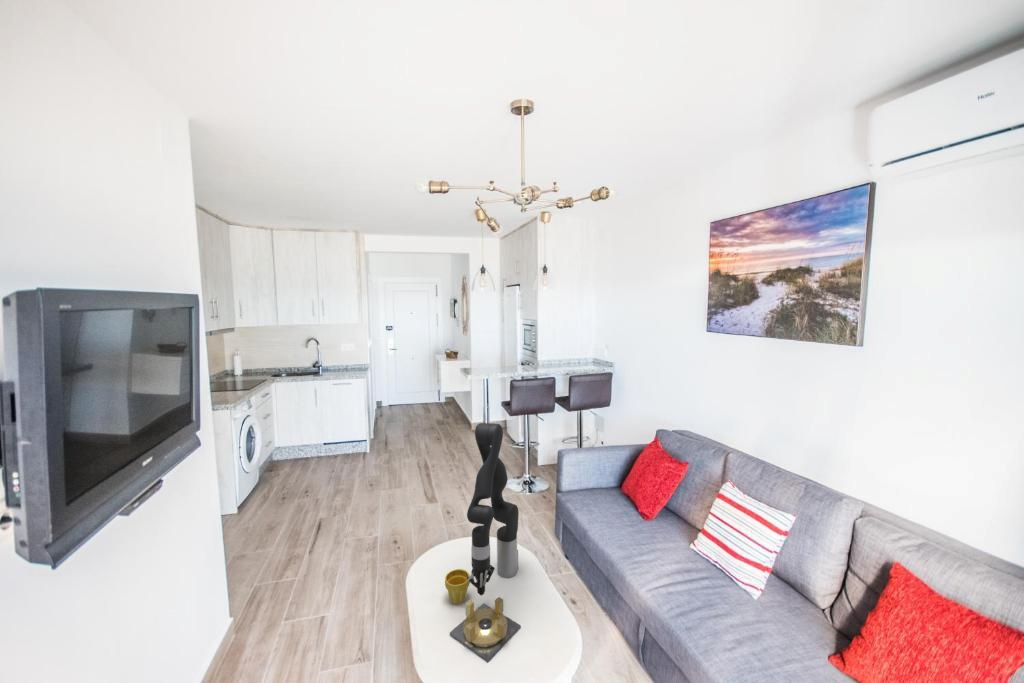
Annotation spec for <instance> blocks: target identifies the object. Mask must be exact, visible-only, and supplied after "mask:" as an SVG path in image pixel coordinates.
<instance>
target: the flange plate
mask: <svg viewBox="0 0 1024 683" xmlns="http://www.w3.org/2000/svg"><path fill="white" fill-rule="evenodd" d="M483 608H491V609H494V608H493V607H491V606H489V605H487V604H486V603H484V602H483V603H482V604H480V605H479V607H477V608H476V609H474V611H476V610H478V609H483ZM504 616H505V617H506V619H507V626H508V628H507V635H506V636H505V637H504V638H503V639H502V640H501V641H500V642H499V643H497V644H495V645H493V646H488V647H479V646H475V645H473V644H471V643H470V642H468V641H467V640H466V638H465V636H464V632H463V625H464V621H465V619H464V620H463V621H462V622H460V623H459V624H458V625H456V627H454V628H453V629H451V631H450V632H449V636H450V637H451V638H453V639H454V640H456V641H457V642H458V643H460V644H461V645H462V646H464V647H465V648H467V649H468V650H469V651H471V652H472V653H473V654H475V655H476V656H478V657H479V658H481V659H482V660H484V662H487V663H489V662H490V661H492V659H493V658H494V657H495V656H496V655H497V654H498V652H499V651H500V650H501V649H502V648H503V647H504V646H505V645H506V644H507V643H508V642H509V641H510V640H511V639H512V638H513V636H514V635H515V634H516V633H518V631H519V630H520V629H521V627H522V625H521V624H519V623H518V622H517V621H514V620H513V619H511V618H509V617H508V616H506V615H504Z"/></svg>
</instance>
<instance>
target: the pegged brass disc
mask: <svg viewBox="0 0 1024 683" xmlns="http://www.w3.org/2000/svg"><path fill="white" fill-rule="evenodd" d="M464 605H465V610H464V612H465V616H466V618H465V619H464V620H465V621H464V620H463V621H464V625H463V632H464V636H465V638H466V640H467V641H468V642H470V643H471V644H473V645H475V646H479V647H488V646H493V645H495V644H497V643H499V642H500V641H501V640H502V639H503V638H504V637H505V636H506V635H507V628H508V626H507V619H506V617H507V616H506V615H504V614H503V613H504V598H501V597H500V596H498V597H497V598H496V599H495V600H494V608H493V609H491V608H492V607H491V608H483V609H478V610H476V609H475V602H474V601H473V600H470V599H469V600H467V601H466V602H465V604H464ZM475 610H476V611H475ZM505 616H506V617H505Z"/></svg>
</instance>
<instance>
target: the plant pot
mask: <svg viewBox="0 0 1024 683" xmlns="http://www.w3.org/2000/svg"><path fill="white" fill-rule="evenodd" d="M470 576H471V574H470V573H469V572H468V571H467V570H466V569H464V568H463V569H462V568H455V569H453V570H450V571H449V572H447V573H446V575H445V576H444V586H445V588H446V590H447V593H448V596H449V600H450V602H451V603H453V604H457V605H458V604H460V603H463V602H464V601H465V600H466V599H467V598H466V597H467V593H468V589H469V588H468V587H470V584H471V583H470V582H469V581H468V580H467V577H470Z"/></svg>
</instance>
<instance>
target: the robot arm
mask: <svg viewBox="0 0 1024 683" xmlns="http://www.w3.org/2000/svg"><path fill="white" fill-rule="evenodd" d="M503 430H504V429H503V427H502V425H501V424H500V423H490V422H480V423H478V424H477V425H476V426H475V430H474V436H475V442H476V445H477V447H478V451H479V454H480V456H481V460H482V465H481V467H480V469H479V470H478V472H477V474H476V478H475V484H474V485H475V486H474V493H473V496H472V499H471V502H470V504H469V506H468V509H467V511H466V518H467V520H468V522H469V523H470V524H478V526H477V525H476V526H475V527H473V529H472V531H471V553H470V554H471V567H472V569H471V571H470V572H471V573H470V577H467V580H468V581H469V582H470V584H472V585H473V587H475V588H476V589H477V594H478V595H480V596H483V595H485V592H486V584H487V583H489V582H490V580H491V577H492V575H493V573H494V571H495V569H496V572H497V574H498V575H499V576H500V578H501V577H502V578H505V579H507V578H508V579H509V578H513V577H514V576H516V575H517V573H518V570H519V549H518V530H519V517H520V516H519V512H520V510H519V507H518V505H517V504H514V503H511V502H508V501H505V499H504V497H503V491H504V490H505V488H506V486H507V483H508V473H507V468H506V465H505V463H504V462H503V460H501V459H500V457H499V456H500V451H501V448H502V442H503V438H504V431H503ZM487 499H490V502H491V503H490V504H491V505H485V504H480V502H481V501H482V500H487ZM493 520H495V521H497V522H498V523H501V524H505V525H503V526H501V527H499V528H498V529H497V530H496V556H497V557H496V561H497V562H496V568H495V566H493V565H492V564H491V545H490V533H491V532H490V531H491V526H492V524H493Z"/></svg>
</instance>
